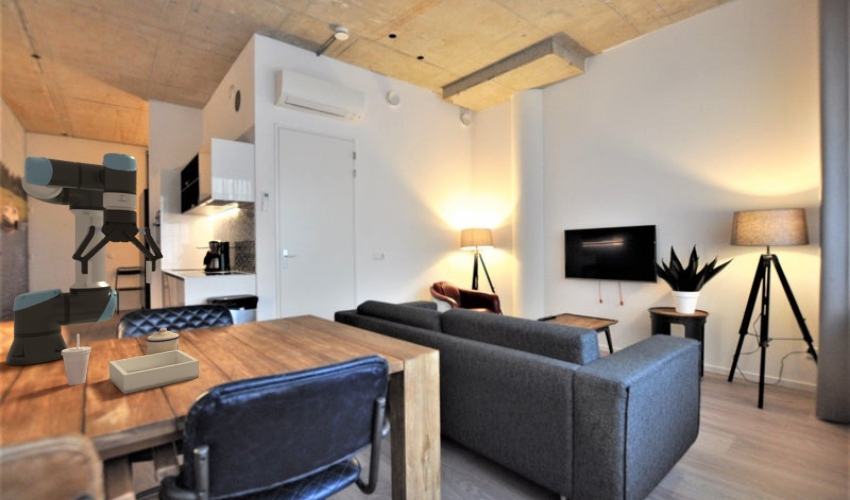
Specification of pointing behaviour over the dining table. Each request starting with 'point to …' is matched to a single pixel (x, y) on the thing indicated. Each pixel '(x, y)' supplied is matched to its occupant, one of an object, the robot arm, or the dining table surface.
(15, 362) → the robot arm
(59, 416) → the dining table surface
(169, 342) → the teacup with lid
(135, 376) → the bin
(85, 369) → the smoothie
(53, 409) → the dining table surface
